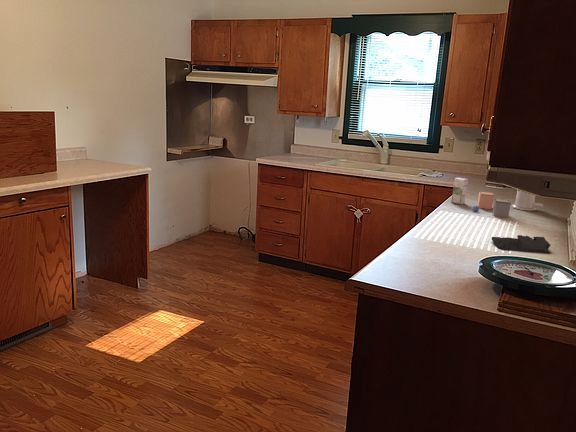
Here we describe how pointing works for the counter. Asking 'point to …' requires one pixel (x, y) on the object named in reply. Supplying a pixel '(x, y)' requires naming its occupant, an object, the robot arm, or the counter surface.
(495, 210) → the gray block
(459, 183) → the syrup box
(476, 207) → the marble
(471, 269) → the counter surface
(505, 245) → the dark slate chunk
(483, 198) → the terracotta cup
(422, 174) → the counter surface
